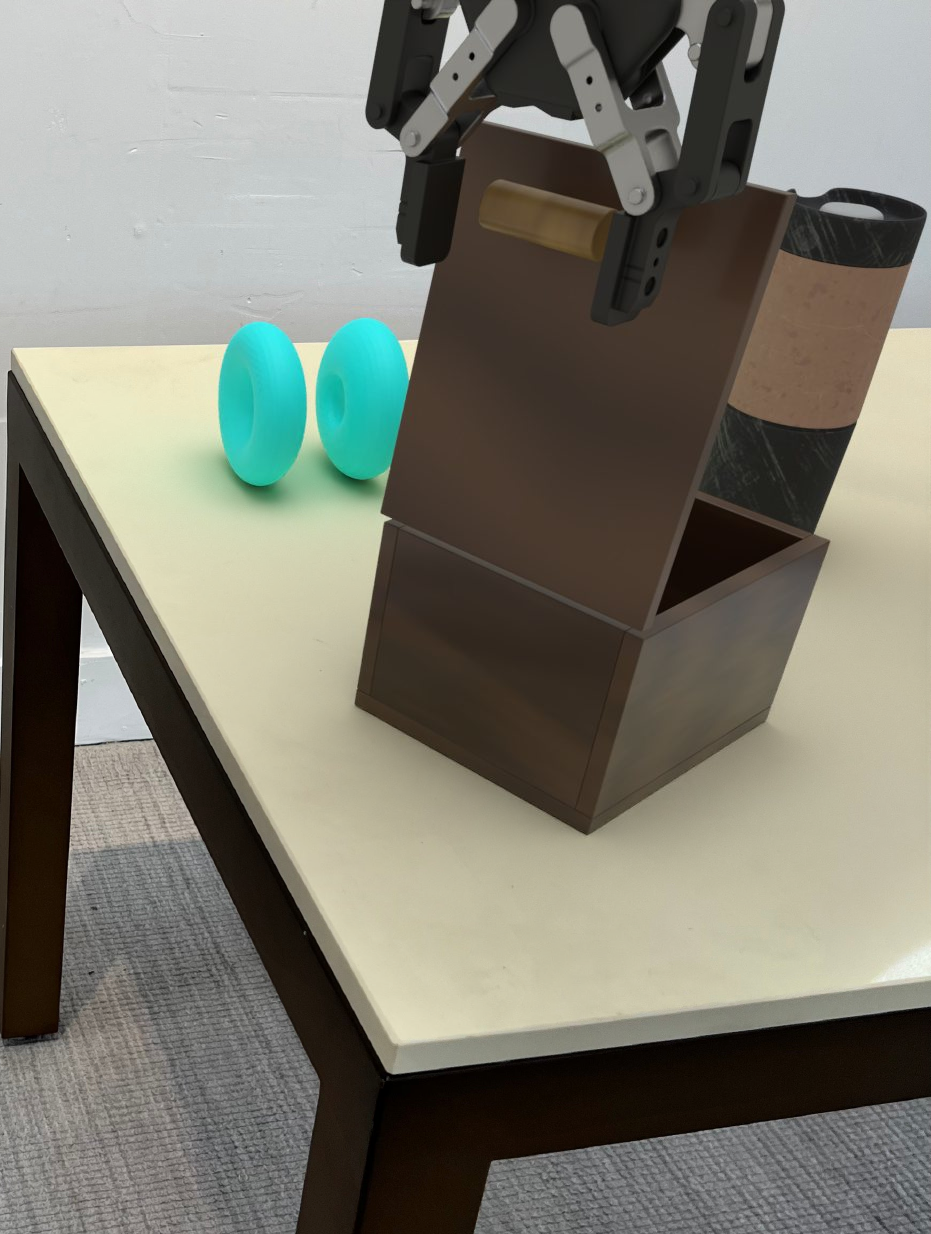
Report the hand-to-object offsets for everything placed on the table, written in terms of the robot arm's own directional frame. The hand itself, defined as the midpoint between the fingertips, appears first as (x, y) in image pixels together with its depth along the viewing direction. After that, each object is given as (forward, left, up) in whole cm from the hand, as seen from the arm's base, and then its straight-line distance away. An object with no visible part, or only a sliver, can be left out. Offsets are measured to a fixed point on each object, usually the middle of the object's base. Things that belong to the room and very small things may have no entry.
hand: (513, 290), depth 54 cm
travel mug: (-39, -5, -23) cm, 45 cm away
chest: (-12, 0, -23) cm, 25 cm away
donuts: (-23, -28, -23) cm, 43 cm away
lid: (-5, 0, -4) cm, 6 cm away
